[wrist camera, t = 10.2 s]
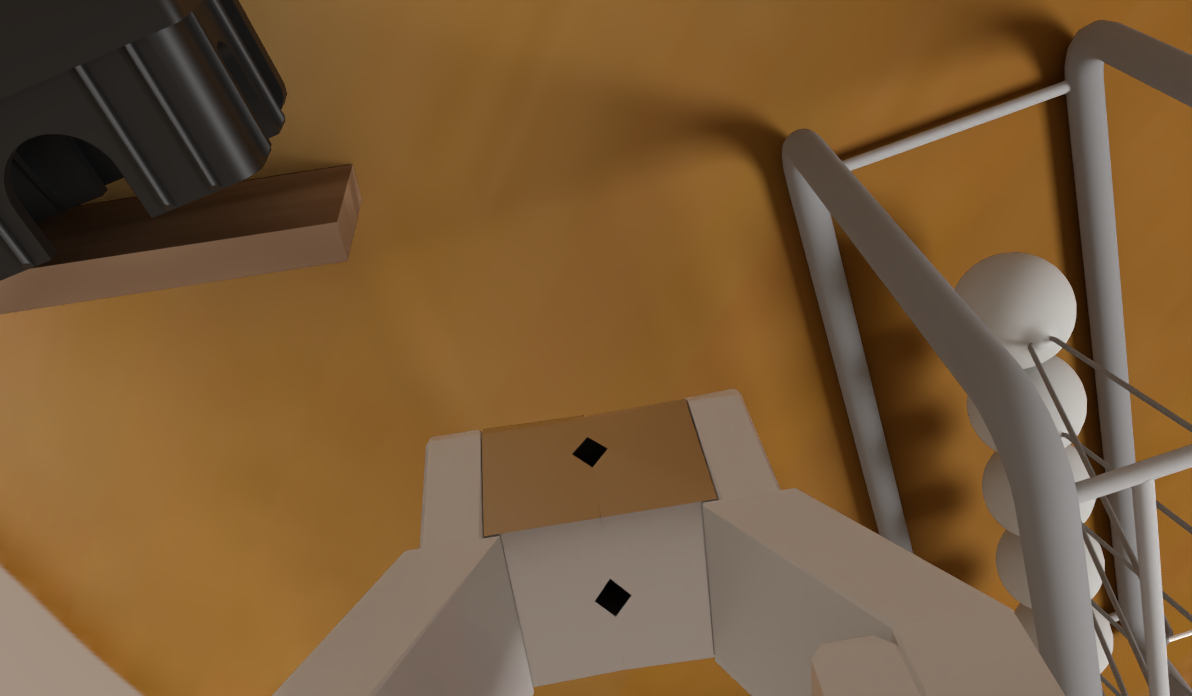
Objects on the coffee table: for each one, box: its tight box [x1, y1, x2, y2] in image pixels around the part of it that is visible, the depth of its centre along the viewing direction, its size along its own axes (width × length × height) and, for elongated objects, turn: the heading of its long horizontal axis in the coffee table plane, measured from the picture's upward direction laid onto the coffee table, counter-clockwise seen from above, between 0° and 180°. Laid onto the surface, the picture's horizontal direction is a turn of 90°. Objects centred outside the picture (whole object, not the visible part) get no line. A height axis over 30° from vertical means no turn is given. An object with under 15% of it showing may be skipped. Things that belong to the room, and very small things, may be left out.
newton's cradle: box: [782, 20, 1192, 696], centre depth 33 cm, size 30×10×18 cm, turn 19°
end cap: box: [0, 0, 287, 281], centre depth 27 cm, size 10×7×7 cm
